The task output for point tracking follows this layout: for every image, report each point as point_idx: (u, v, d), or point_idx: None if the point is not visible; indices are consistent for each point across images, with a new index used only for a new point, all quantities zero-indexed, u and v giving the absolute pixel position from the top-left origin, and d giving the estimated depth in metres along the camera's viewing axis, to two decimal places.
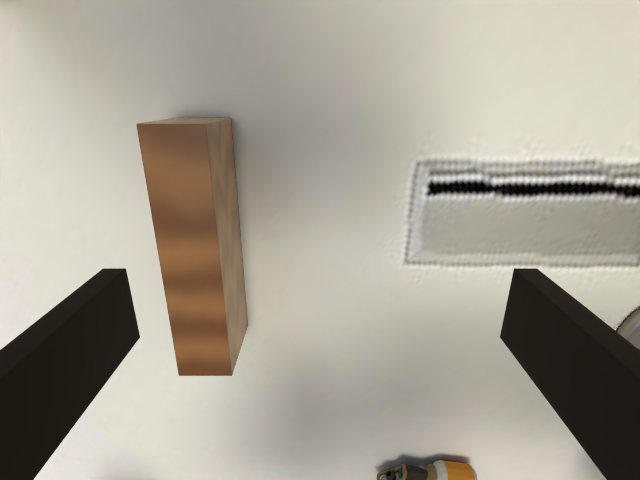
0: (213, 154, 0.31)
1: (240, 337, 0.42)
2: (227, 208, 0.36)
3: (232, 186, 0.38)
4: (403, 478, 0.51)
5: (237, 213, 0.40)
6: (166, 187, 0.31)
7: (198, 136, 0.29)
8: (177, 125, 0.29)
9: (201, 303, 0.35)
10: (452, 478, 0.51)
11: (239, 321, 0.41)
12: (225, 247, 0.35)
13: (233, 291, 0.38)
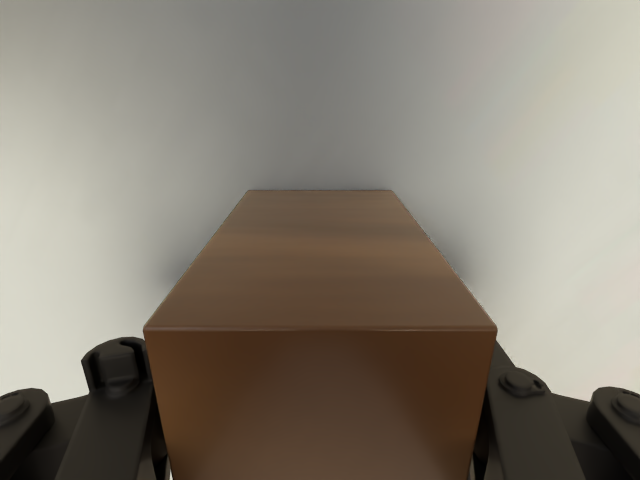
0: None
1: None
2: None
3: None
4: None
5: None
6: None
7: (447, 378, 0.06)
8: (351, 332, 0.06)
9: None
10: None
11: None
12: None
13: None
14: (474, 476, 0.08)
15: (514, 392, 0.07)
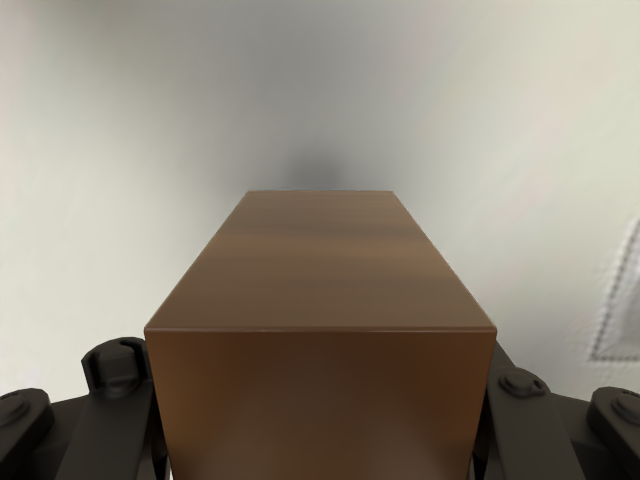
0: None
1: None
2: None
3: None
4: None
5: None
6: None
7: (446, 379, 0.06)
8: (351, 333, 0.06)
9: None
10: None
11: None
12: None
13: None
14: (474, 476, 0.08)
15: (515, 392, 0.07)
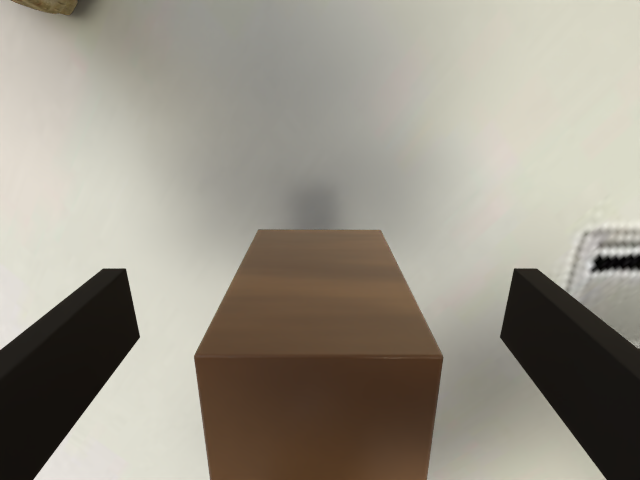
0: None
1: None
2: None
3: None
4: None
5: None
6: None
7: (408, 392, 0.08)
8: (340, 359, 0.08)
9: None
10: None
11: None
12: None
13: None
14: None
15: None
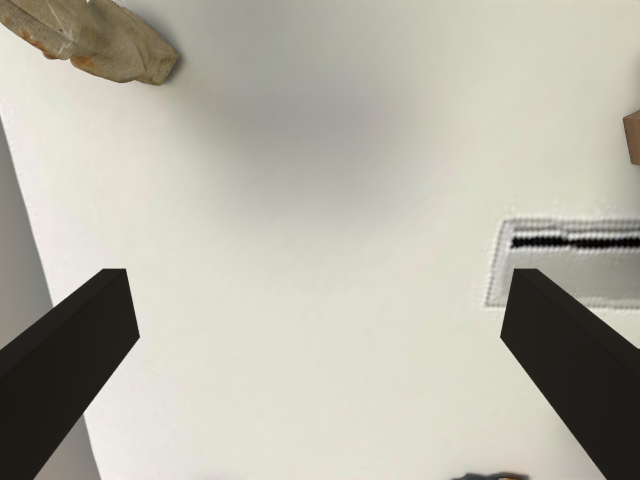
0: None
1: None
2: None
3: None
4: None
5: None
6: None
7: None
8: None
9: None
10: None
11: None
12: None
13: None
14: None
15: None
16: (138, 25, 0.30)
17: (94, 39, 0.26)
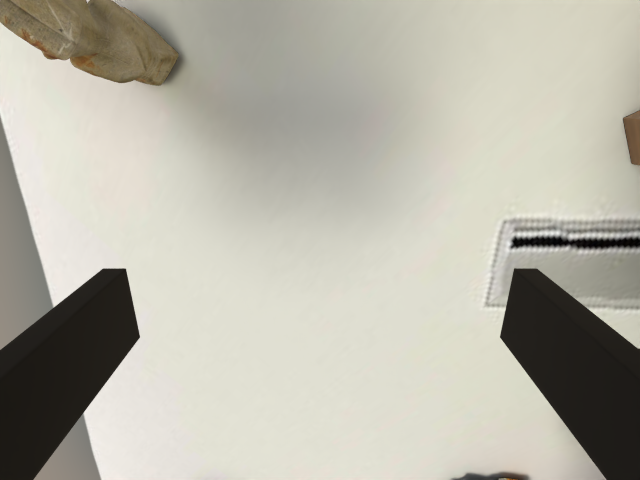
0: None
1: None
2: None
3: None
4: None
5: None
6: None
7: None
8: None
9: None
10: None
11: None
12: None
13: None
14: None
15: None
16: (138, 25, 0.30)
17: (94, 39, 0.26)
